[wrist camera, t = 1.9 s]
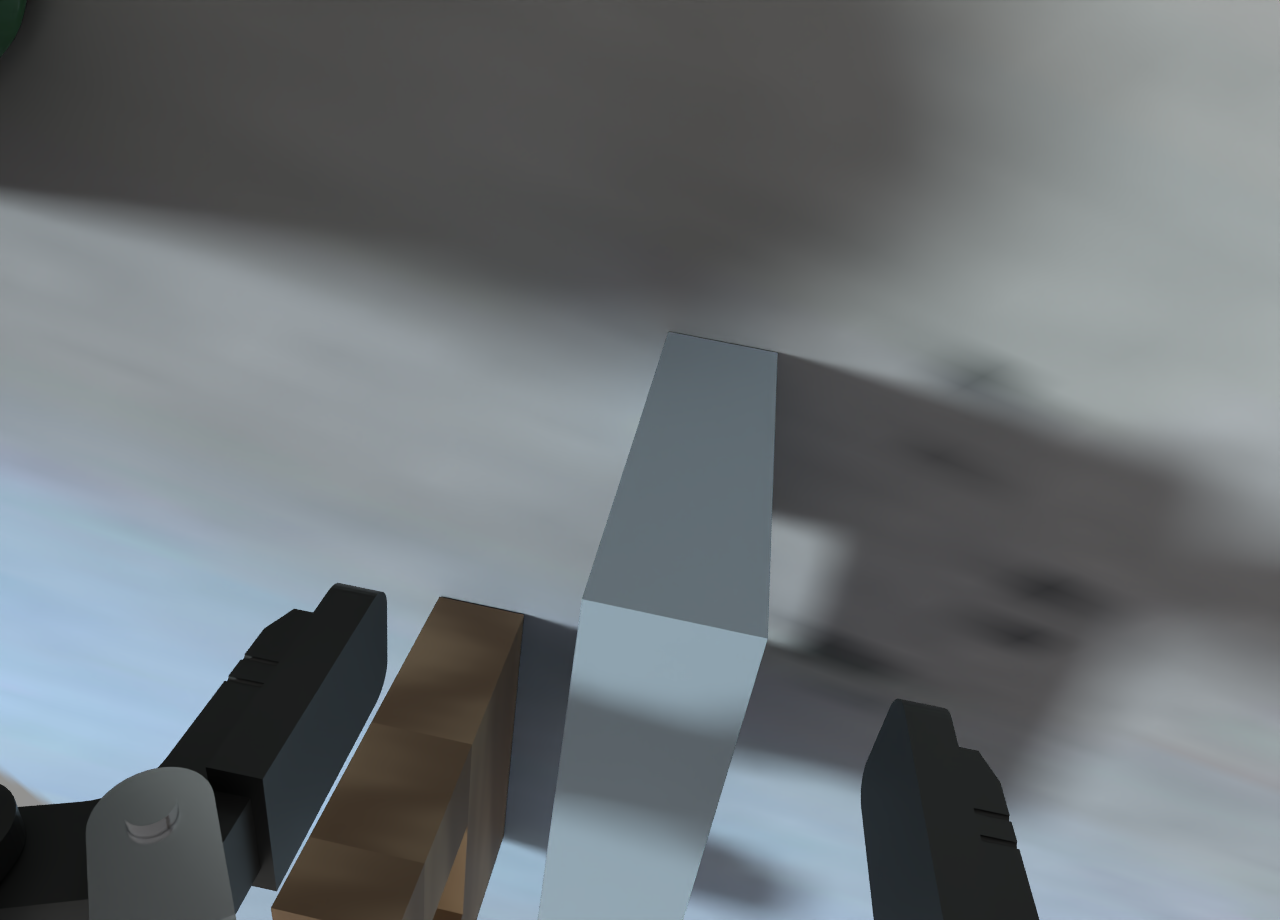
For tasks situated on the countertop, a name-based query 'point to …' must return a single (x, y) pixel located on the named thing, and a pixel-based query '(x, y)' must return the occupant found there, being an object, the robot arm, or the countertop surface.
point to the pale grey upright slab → (667, 640)
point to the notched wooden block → (421, 783)
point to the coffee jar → (10, 21)
